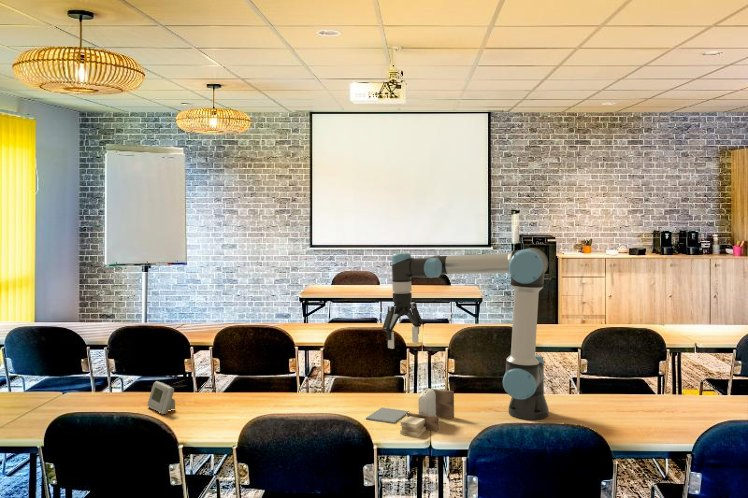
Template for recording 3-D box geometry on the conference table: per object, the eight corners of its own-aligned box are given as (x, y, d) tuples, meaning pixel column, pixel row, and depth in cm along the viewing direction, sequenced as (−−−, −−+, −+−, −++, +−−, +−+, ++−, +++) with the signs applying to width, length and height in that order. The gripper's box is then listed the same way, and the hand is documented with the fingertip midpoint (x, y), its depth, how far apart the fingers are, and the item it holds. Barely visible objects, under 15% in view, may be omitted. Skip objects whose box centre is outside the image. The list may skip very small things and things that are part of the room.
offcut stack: (426, 430, 221) (426, 418, 221) (418, 437, 215) (418, 424, 214) (407, 428, 225) (407, 416, 224) (399, 434, 218) (399, 422, 218)
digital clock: (146, 407, 256) (145, 382, 256) (168, 403, 261) (167, 378, 260) (154, 417, 242) (153, 390, 242) (178, 413, 247) (177, 387, 247)
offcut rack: (454, 416, 235) (453, 391, 235) (438, 431, 220) (437, 403, 219) (425, 413, 241) (424, 387, 240) (407, 426, 225) (407, 400, 225)
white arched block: (428, 427, 224) (427, 394, 223) (417, 426, 226) (416, 393, 225) (437, 419, 233) (436, 387, 233) (426, 417, 235) (426, 386, 234)
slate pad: (409, 412, 242) (409, 411, 241) (394, 423, 229) (394, 421, 229) (381, 408, 247) (381, 407, 247) (365, 419, 234) (365, 417, 234)
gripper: (417, 288, 253) (418, 339, 254) (372, 294, 236) (373, 349, 237) (430, 289, 247) (431, 341, 248) (385, 296, 230) (387, 351, 231)
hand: (403, 345), depth 243 cm, fingers open, 13 cm apart
